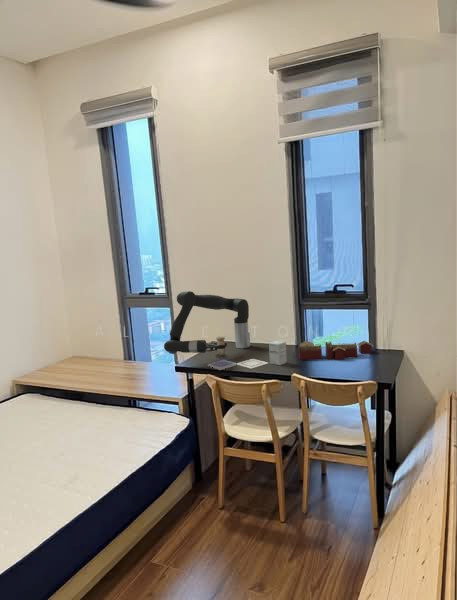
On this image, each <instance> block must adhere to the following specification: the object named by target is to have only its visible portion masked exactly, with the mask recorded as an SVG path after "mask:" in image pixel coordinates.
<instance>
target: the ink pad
mask: <svg viewBox="0 0 457 600" xmlns="http://www.w3.org/2000/svg"><path fill="white" fill-rule="evenodd" d="M236 364H237V363H236V362H233V361H229V360H227V359H219V360H217V361H213V362H210V363H207V367H209V366H210V367H209V368H212V367H213V368H212V369H214V370H218V371H221V370H225V368H226V369H229V368H231V367H235V366H237V365H236Z"/></svg>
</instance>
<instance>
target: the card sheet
mask: <svg viewBox="0 0 457 600" xmlns="http://www.w3.org/2000/svg"><path fill="white" fill-rule="evenodd" d="M268 364H269V362H266V361H262V360H259V359H255V358H250V359H247V360H243V361H239V362H237V363H236V366H240V367H242V368H243V367H244V368H247V369H249V370H250V369H251V370H252V369H255V368H258V367H261V366H264V365H268Z"/></svg>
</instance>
